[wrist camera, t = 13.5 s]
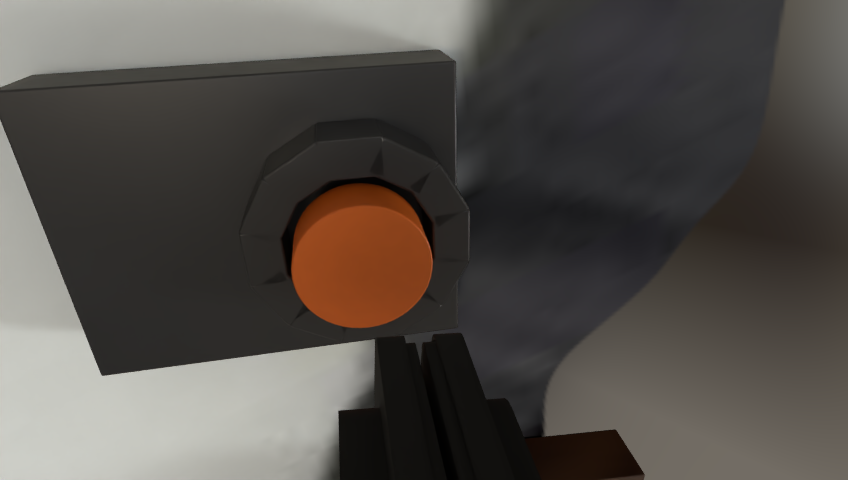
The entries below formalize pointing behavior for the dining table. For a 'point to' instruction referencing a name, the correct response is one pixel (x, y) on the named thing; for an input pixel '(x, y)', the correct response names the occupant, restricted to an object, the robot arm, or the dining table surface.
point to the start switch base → (230, 194)
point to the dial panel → (584, 457)
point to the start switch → (360, 256)
